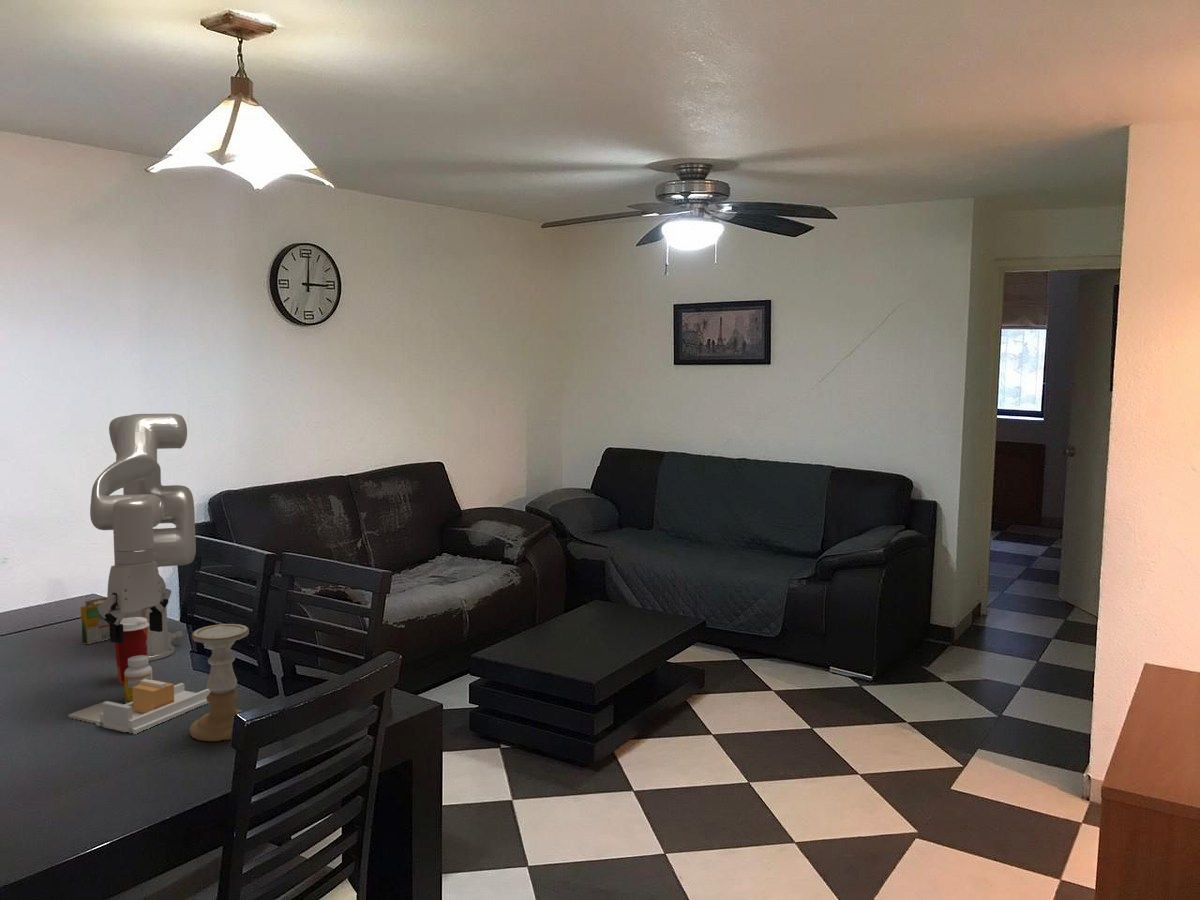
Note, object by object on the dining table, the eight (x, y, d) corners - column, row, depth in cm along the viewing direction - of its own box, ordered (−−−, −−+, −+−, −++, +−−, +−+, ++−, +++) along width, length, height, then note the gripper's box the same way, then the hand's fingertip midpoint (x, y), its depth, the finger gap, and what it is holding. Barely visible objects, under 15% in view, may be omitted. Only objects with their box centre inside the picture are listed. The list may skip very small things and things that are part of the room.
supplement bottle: (131, 697, 199) (130, 654, 199) (157, 697, 200) (156, 653, 199) (121, 706, 194) (119, 662, 193) (147, 706, 195) (145, 661, 194)
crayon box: (110, 636, 244) (108, 594, 243) (115, 638, 242) (114, 595, 241) (81, 643, 238) (79, 599, 237) (87, 645, 236) (85, 601, 235)
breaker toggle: (153, 702, 193) (152, 676, 193) (174, 707, 191) (173, 680, 190) (133, 710, 189) (132, 683, 188) (154, 715, 186) (153, 687, 186)
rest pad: (107, 703, 196) (106, 700, 196) (137, 709, 192) (137, 706, 192) (68, 717, 188) (67, 714, 188) (98, 724, 184) (98, 721, 184)
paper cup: (158, 678, 212) (156, 618, 211) (129, 688, 205) (127, 627, 204) (135, 673, 216) (133, 614, 214) (105, 682, 209) (103, 622, 207)
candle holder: (191, 746, 174) (188, 643, 172) (187, 724, 185) (184, 626, 183) (260, 735, 180) (257, 634, 178) (252, 714, 191) (249, 619, 189)
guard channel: (178, 693, 202) (177, 671, 202) (215, 701, 198) (214, 678, 197) (96, 725, 184) (95, 701, 183) (135, 734, 179) (134, 709, 179)
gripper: (155, 549, 204) (158, 625, 205) (84, 563, 188) (87, 645, 189) (180, 551, 201) (183, 628, 202) (110, 565, 185) (113, 649, 186)
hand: (137, 636), depth 195 cm, fingers open, 9 cm apart
